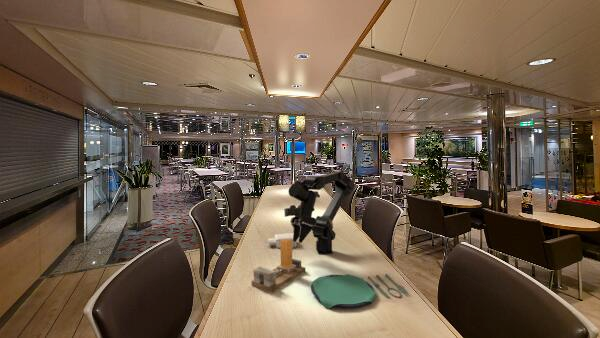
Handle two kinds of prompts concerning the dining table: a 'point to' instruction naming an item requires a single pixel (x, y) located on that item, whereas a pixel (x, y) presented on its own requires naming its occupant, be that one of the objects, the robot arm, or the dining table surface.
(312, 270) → the dining table surface
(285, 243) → the orange wooden beam
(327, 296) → the cutlery set
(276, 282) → the brown piece
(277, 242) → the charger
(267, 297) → the dining table surface
